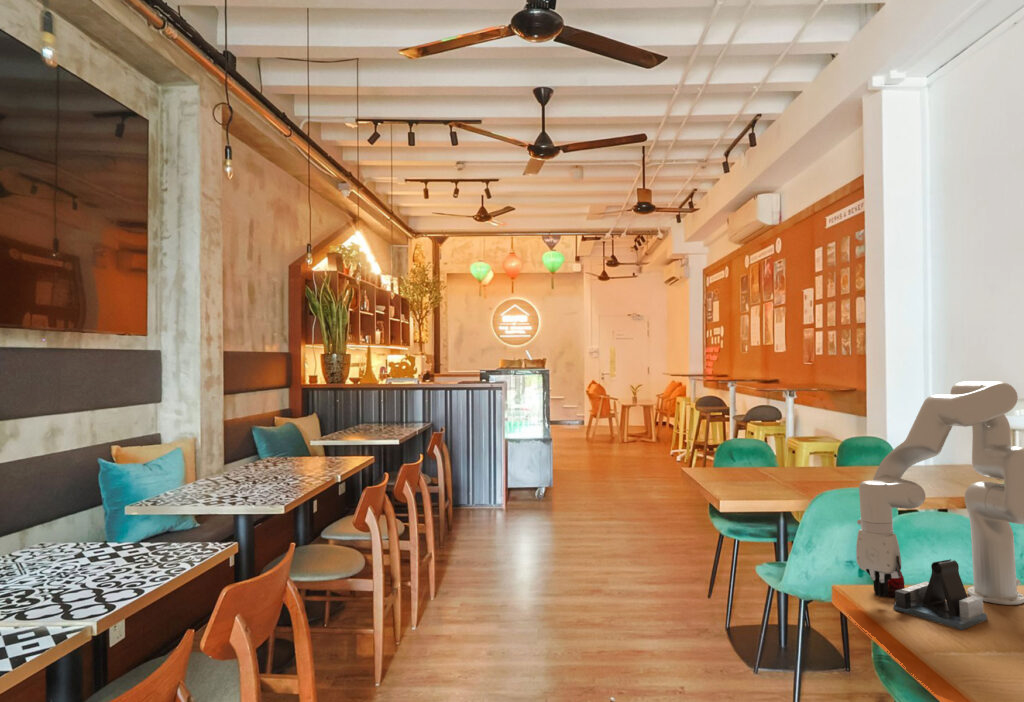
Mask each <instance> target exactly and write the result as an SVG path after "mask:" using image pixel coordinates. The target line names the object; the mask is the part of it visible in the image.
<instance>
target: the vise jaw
mask: <svg viewBox="0 0 1024 702" xmlns="http://www.w3.org/2000/svg"><path fill="white" fill-rule="evenodd" d="M928 584H929V581H923V582H921V583H917V584H914V585H910V586H908V587H905V588H904V589H900V590H896V591H895V597H894V598H895V599H894V600H895V603H896V607H900V608H903V609H908V608H911V607H912V606H914V605H917V604H920V603H923V600H924V596H925V593H926V590H927V587H928Z"/></svg>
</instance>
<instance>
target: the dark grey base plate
mask: <svg viewBox="0 0 1024 702" xmlns="http://www.w3.org/2000/svg"><path fill="white" fill-rule="evenodd" d="M959 605H960V614H957V615H954V614H951V613H948V612H945V611H942V610H940V609H937V608H934V607H931V606H928V605H925V604H923V603H920V604H917V605H914V606H912V607H911V608H908V609H903V608H900V607H896V602H895V603H893V609H894V611H898V612H902V613H904V612H905V614H908V615H911V614H912V615H911V616H914V615H915V617H917V616H918V618H921V619H923V620H928V621H931V622H934V623H936V624H941V625H945V626H947V627H951V628H953V629H957V630H960V631H963V630H965V629H967V628H971V627H973V626H976V625H978V624H980V623H983V622H985V621H987V620H988V615H987V613H985V612H984V601H983V597H979V596H975V595H973V596H970V595H969V596H968V598H965V599H962V600H960V601H959Z"/></svg>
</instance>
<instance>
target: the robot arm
mask: <svg viewBox="0 0 1024 702" xmlns="http://www.w3.org/2000/svg"><path fill="white" fill-rule="evenodd" d="M1018 398H1019V397H1018V393H1017V390H1016V389H1015V388H1014V387H1013V386H1012V385H1011V384H1010V383H1007V382H1004V381H995V380H994V381H993V380H991V381H990V380H989V381H987V380H986V381H985V380H984V381H983V380H966V381H959V382H957V383H955V384H953V386H952V387H951V389H950V393H949V394H947V393H946V394H945V393H937V394H932V395H929V396H928V397H927V398H926V399H925V400H923V402H922V405H921V406H920V409H919V410H918V413H917V416H915V417H916V418H915V420H914V421H913V424H912V426H911V428H910V430H909V432H908V433H907V437H906V438H905V439H904V440H903V442H901V443H900V444H898V445H897V446H896V447H895V448H894V449H892V450H891V451H890V452H889V453H888V454H887V455H886V456H885V457H884V458H883V459H882V460H881V462H880V463H879V466H878V467H877V469H876V472H875V473H874V476H873V478H872V480H864V481H861V482H860V483H859V485H858V491H859V492H858V494H859V496H858V497H859V509H860V519H857V525H859V526H860V528H861V529H859V530H858V532H857V538H856V545H855V546H856V547H855V549H856V550H855V552H856V553H855V555H856V558H855V559H856V564H857V565H858V567H859V569H860V570H862V571H864V572H866V573H867V574H868V575H869V576H870V579H871V581H873V591H874V596H876V597H879V598H884V597H888V596H887V595H888V581H889V580H890V579H891V578H900V577H901V573H900V571H901V570H902V557H901V551H900V549H901V548H900V545H899V541H898V537H897V534H896V533H894V522H893V509H906V510H910V509H917V508H919V507H921V506H922V505H923V504H924V502H926V501H925V500H926V492H925V490H924V488H923V487H922V486H921V485H920V484H918V483H917V482H915V481H911V480H908V479H903V478H902V477H903V476H904V474H905V473H906V472H907V471H908V469H910V468H911V467H913V466H914V465H916V464H919V463H920V462H923V461H926V460H929V459H932V458H934V457H937V456H938V455H939V454H940V453H941V452H942V450H943V447H944V445H945V443H946V441H947V439H948V437H949V435H950V432H951V430H952V428H953V427H964V428H966V427H972V448H971V464H972V468H973V470H974V472H976V473H977V474H978V475H981V476H984V477H987V478H990V479H991V478H992V479H996V480H1003V482H1004V483H997V482H992V481H976V482H973V483H971V484H970V485H969V486H968V487H967V488H966V490H965V492H964V505H965V508H966V510H967V514H968V518H969V519H968V520H969V524H970V525H969V526H970V537H971V538H970V541H971V554H972V555H971V556H972V557H971V558H972V571H973V572H972V577H973V585H972V586H968V588H967V595H969V597H970V596H973V595H975V596H979V597H983V602H985V603H990V604H991V603H992V604H997V605H1007V606H1014V605H1015V606H1016V605H1021V604H1024V595H1023V594H1021V593H1020V592H1018V586H1020V585H1021V581H1020V579H1019V578H1017V572H1016V570H1017V569H1016V553H1015V537H1014V531H1013V529H1012V527H1011V526H1012V525H1011V524H1010V523H1012V524H1017V525H1024V447H1022V446H1017V445H1012V443H1011V442H1012V441H1011V440H1012V439H1011V438H1012V437H1011V426H1010V423H1009V420H1008V417H1006V414H1008V413H1009V412H1010V411H1011V410H1013V409H1014V408H1015V406H1016V405H1017V402H1018Z"/></svg>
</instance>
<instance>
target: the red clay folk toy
mask: <svg viewBox="0 0 1024 702" xmlns="http://www.w3.org/2000/svg"><path fill="white" fill-rule="evenodd" d="M900 573H901V577H900V578H891V579H890V580H889V581H888V595H887V596H886V597H890V598H895V591H896V590H900V589H904V588H906V587H905V578H904V576H903V573H902V571H901V570H900Z"/></svg>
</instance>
